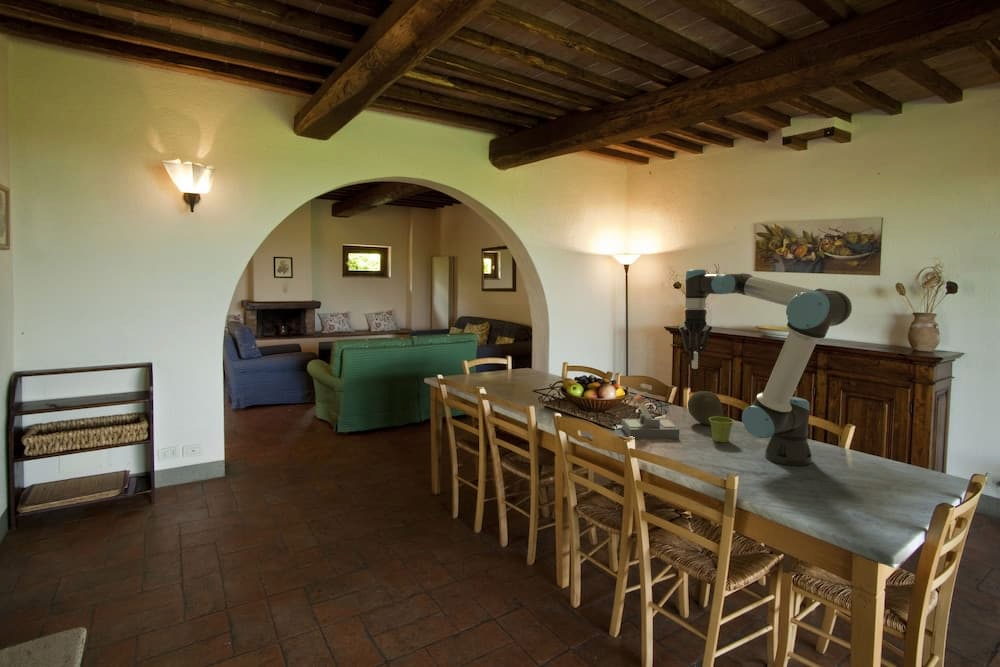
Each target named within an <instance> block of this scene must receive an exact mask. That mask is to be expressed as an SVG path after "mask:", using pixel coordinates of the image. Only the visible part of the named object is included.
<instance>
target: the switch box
mask: <svg viewBox="0 0 1000 667" xmlns="http://www.w3.org/2000/svg"><path fill="white" fill-rule="evenodd" d="M650 415H651V417H652V419H645V417H644V415H643V413H642V414H640V416H639V418H621V426H622V424H623V426H622V428H621V429H622V431H624V433H625V434H626V436H627V437H628V436H633V437H635V439H634V440H680V432H681V431H680V428H679V427H678V426H677V425H676V424H674V423H673V422H672V421H671V420H670V419H668V418H656V414H653V413H650Z"/></svg>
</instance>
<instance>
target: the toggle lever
mask: <svg viewBox="0 0 1000 667" xmlns="http://www.w3.org/2000/svg"><path fill="white" fill-rule="evenodd" d="M632 398H633V399H634V401H635V403H636V404H637V406H638V407H639V409H640V411H641V413H642V414H643V415H644V417H645V419H652V417H651V415H650V414H651V413H650V412H649V409H648V408H647V406H646V404H645V400H644V398H643V396H642V395H641V394H639V393H637V394H635V395H634V396H632Z"/></svg>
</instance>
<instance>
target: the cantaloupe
mask: <svg viewBox="0 0 1000 667" xmlns="http://www.w3.org/2000/svg"><path fill="white" fill-rule="evenodd" d="M687 409H688V412H689V414H690V416H691V417H692V418H693V419H694V420H695V421H697V422H698V423H700V424H703V425H704V426H705V425H707V426H711V424H710V421H709V418H710V417H722V415H723V404H722V402H721V399H720V397H719V396H718V395H717V394H715V393H714V392H713V391H708V390H706V391H705V390H700V391H697V392H694V393H693V394H691V396H690V397H689V399H688V401H687Z"/></svg>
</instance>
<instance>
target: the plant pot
mask: <svg viewBox="0 0 1000 667" xmlns="http://www.w3.org/2000/svg"><path fill="white" fill-rule="evenodd" d="M709 421H710V424H711V425H710V428H711V429H710V430H711V437H712V441H714V442H716V443H718V442H720V443H728V442H729V441H730V436H731V430H732V427H733V423H734V422H735V420H734V419H732V418H730V417H726V416H721V417H710V418H709Z"/></svg>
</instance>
